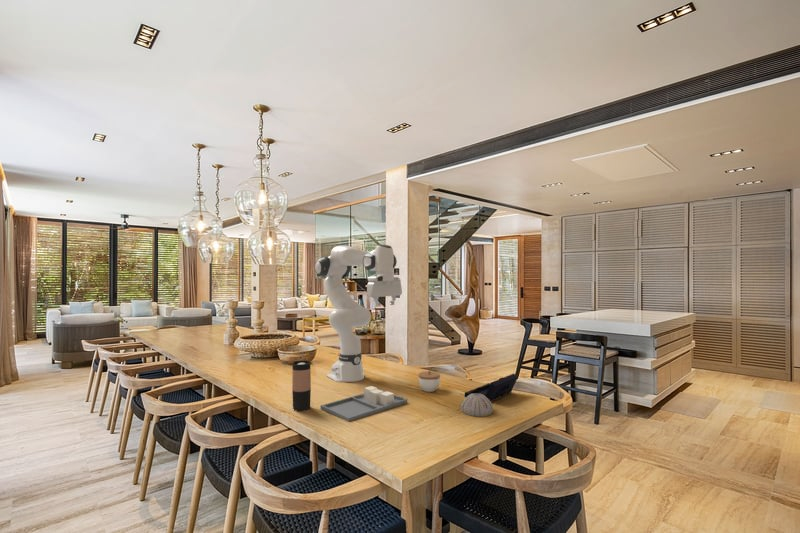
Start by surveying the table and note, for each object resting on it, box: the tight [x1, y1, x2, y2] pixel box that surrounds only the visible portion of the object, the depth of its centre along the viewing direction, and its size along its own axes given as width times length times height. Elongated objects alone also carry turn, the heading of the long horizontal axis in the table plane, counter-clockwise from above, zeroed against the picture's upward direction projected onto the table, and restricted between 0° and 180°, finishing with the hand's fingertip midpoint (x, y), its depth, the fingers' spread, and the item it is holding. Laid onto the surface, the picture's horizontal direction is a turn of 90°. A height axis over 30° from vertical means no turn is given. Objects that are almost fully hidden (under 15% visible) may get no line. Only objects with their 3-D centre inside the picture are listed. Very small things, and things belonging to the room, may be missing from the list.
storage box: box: [464, 373, 519, 403], centre depth 187 cm, size 21×16×10 cm
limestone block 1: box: [363, 385, 379, 400], centre depth 182 cm, size 4×4×4 cm
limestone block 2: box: [369, 388, 385, 404], centre depth 177 cm, size 4×4×4 cm
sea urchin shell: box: [460, 393, 494, 417], centre depth 165 cm, size 13×14×8 cm
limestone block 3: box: [380, 390, 395, 406], centre depth 174 cm, size 4×4×4 cm
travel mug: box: [291, 360, 312, 412], centre depth 171 cm, size 8×8×20 cm
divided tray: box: [320, 388, 408, 423], centre depth 173 cm, size 20×32×2 cm, turn 133°
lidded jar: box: [417, 370, 441, 393], centre depth 197 cm, size 11×11×9 cm
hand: (385, 305), depth 196 cm, fingers open, 8 cm apart
